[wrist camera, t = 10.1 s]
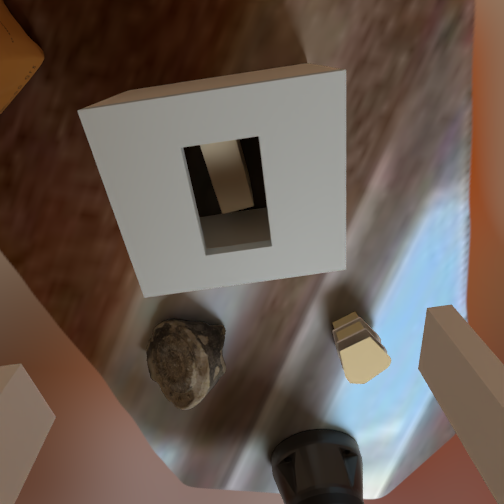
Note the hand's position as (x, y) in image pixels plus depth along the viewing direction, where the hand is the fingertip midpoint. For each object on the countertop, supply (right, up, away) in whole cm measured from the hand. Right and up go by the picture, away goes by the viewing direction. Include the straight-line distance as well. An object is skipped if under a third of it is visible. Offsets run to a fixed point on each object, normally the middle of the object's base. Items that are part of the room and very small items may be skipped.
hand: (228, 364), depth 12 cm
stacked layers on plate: (+14, -7, +36) cm, 39 cm away
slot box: (-1, +13, +23) cm, 27 cm away
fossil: (-8, -8, +35) cm, 37 cm away
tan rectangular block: (-2, +13, +23) cm, 27 cm away
